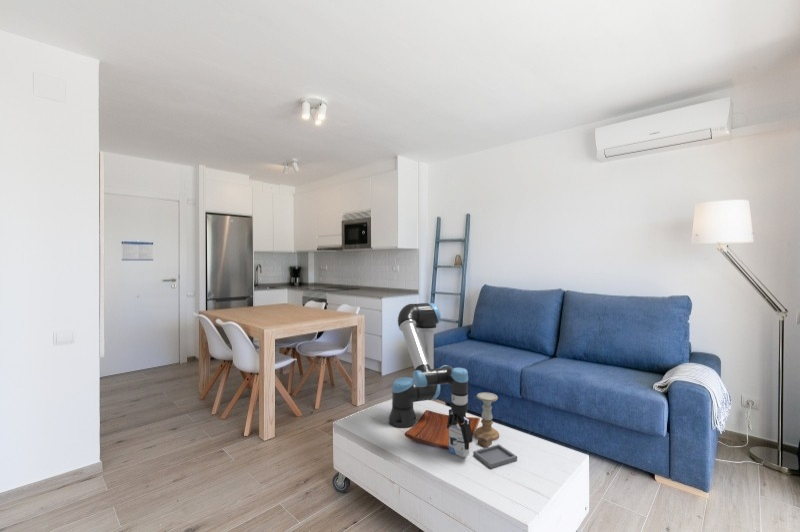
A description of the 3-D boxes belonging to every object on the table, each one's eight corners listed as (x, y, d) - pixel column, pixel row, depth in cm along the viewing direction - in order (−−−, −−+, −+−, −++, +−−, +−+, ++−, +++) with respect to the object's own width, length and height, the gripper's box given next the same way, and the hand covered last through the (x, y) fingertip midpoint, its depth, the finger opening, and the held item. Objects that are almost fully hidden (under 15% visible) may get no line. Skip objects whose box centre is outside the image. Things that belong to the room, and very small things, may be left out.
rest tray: (473, 455, 170) (473, 451, 170) (498, 448, 177) (498, 444, 177) (490, 469, 159) (490, 464, 159) (517, 460, 166) (517, 456, 166)
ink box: (448, 451, 174) (448, 426, 173) (454, 447, 177) (454, 423, 177) (463, 458, 168) (464, 432, 167) (469, 454, 171) (469, 428, 171)
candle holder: (501, 432, 192) (502, 394, 192) (496, 443, 182) (496, 402, 181) (478, 427, 198) (478, 390, 198) (471, 437, 187) (472, 397, 187)
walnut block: (477, 444, 180) (477, 436, 180) (482, 440, 184) (482, 432, 184) (486, 448, 177) (486, 440, 177) (491, 444, 181) (492, 436, 180)
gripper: (439, 395, 180) (439, 441, 181) (467, 413, 160) (466, 464, 161) (452, 393, 183) (452, 438, 184) (481, 410, 164) (480, 460, 164)
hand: (458, 450), depth 172 cm, fingers closed on ink box, 9 cm apart
